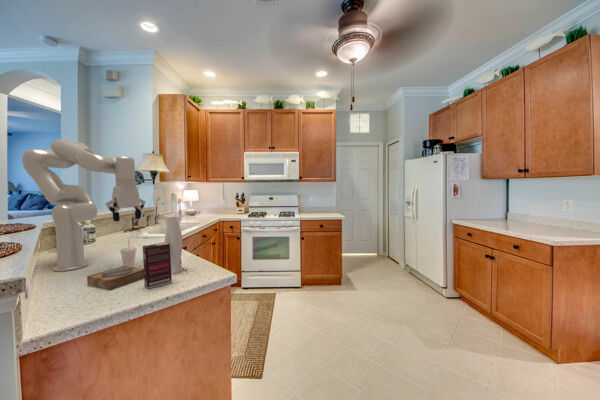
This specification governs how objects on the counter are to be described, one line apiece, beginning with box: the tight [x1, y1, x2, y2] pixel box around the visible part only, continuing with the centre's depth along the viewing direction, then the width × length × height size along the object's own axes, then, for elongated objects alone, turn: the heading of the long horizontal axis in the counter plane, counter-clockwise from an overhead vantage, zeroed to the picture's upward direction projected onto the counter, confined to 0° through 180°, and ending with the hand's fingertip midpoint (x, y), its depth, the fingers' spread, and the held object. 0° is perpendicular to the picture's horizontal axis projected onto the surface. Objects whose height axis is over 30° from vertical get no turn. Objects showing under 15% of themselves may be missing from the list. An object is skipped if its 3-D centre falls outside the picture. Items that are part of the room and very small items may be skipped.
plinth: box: [86, 265, 144, 291], centre depth 98 cm, size 14×14×4 cm
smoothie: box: [119, 239, 137, 267], centre depth 113 cm, size 6×6×14 cm
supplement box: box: [142, 241, 173, 290], centre depth 93 cm, size 9×5×16 cm, turn 134°
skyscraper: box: [163, 210, 188, 275], centre depth 109 cm, size 8×8×28 cm
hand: (127, 219), depth 112 cm, fingers open, 9 cm apart
